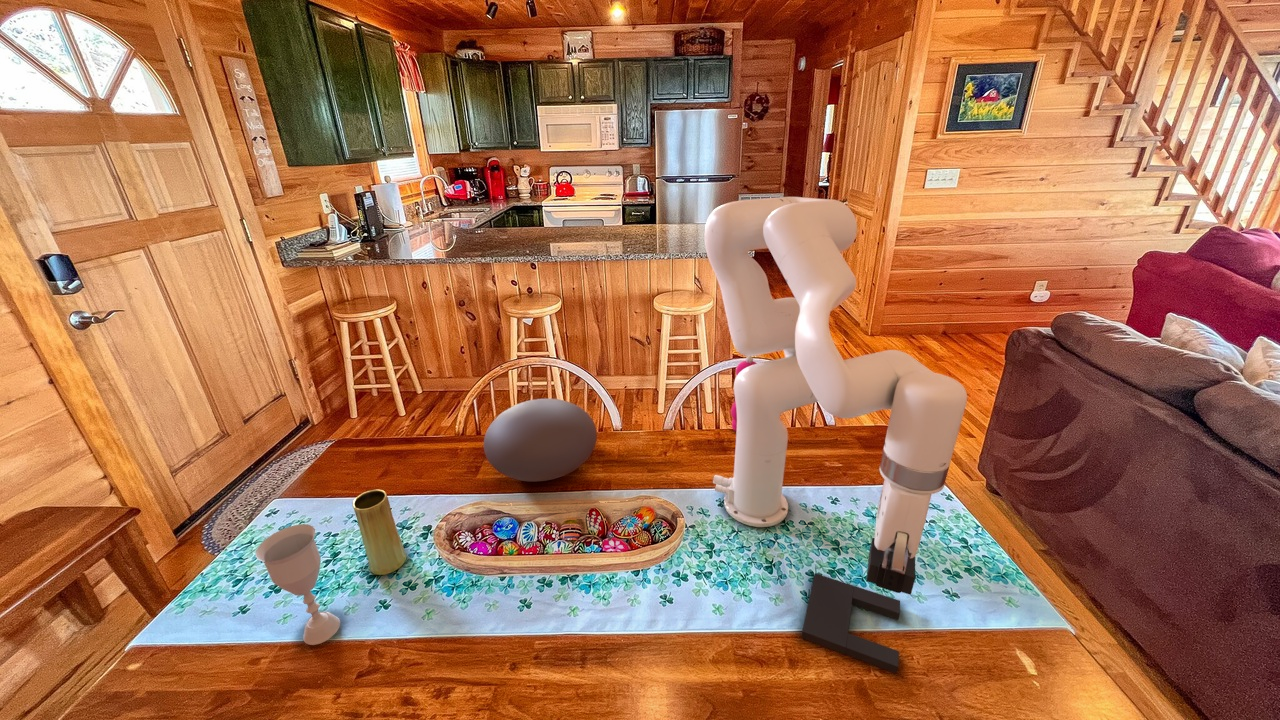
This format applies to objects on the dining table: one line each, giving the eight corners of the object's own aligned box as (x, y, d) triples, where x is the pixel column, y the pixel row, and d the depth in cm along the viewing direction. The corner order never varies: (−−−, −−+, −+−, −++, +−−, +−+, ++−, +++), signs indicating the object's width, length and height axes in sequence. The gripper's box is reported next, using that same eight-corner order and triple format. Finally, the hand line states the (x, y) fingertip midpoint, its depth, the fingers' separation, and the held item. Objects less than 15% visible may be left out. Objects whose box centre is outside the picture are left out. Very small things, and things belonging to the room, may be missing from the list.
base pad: (800, 638, 76) (802, 631, 76) (813, 579, 86) (814, 572, 85) (896, 674, 71) (898, 667, 70) (898, 607, 81) (900, 600, 80)
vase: (414, 555, 93) (397, 493, 87) (386, 580, 88) (366, 515, 82) (390, 545, 95) (372, 484, 89) (362, 569, 90) (340, 505, 84)
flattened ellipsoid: (512, 433, 130) (504, 381, 123) (608, 438, 126) (605, 385, 120) (469, 496, 107) (457, 436, 101) (584, 505, 104) (579, 444, 98)
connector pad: (866, 581, 71) (870, 564, 70) (868, 553, 76) (872, 537, 74) (910, 595, 69) (915, 577, 68) (910, 565, 73) (915, 549, 72)
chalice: (309, 659, 75) (269, 569, 67) (285, 637, 78) (245, 549, 70) (357, 621, 80) (325, 534, 73) (333, 603, 84) (300, 518, 76)
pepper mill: (758, 436, 126) (765, 363, 117) (729, 433, 127) (733, 361, 119) (758, 421, 132) (764, 351, 124) (730, 419, 134) (734, 349, 125)
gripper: (883, 427, 73) (864, 525, 81) (877, 499, 59) (855, 609, 67) (943, 439, 70) (917, 539, 78) (951, 517, 56) (919, 630, 64)
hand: (888, 570), depth 72 cm, fingers closed on connector pad, 5 cm apart
